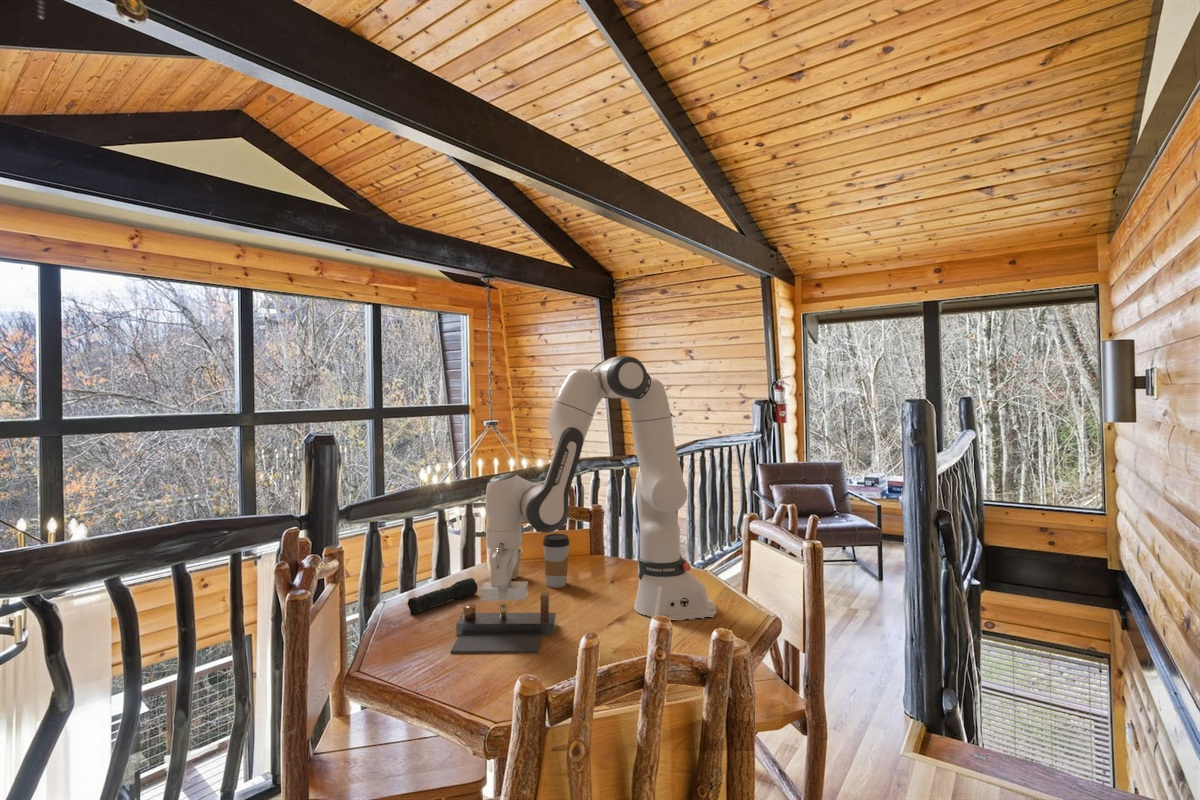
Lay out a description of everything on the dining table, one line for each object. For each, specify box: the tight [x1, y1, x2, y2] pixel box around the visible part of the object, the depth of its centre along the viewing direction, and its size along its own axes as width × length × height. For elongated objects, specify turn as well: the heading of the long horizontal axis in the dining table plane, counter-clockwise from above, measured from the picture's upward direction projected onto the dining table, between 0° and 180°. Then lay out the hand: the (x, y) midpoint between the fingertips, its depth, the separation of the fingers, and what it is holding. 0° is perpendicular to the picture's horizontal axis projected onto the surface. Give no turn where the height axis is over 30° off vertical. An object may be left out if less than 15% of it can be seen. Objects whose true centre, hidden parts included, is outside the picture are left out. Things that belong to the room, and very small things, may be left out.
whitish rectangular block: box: [480, 580, 529, 602], centre depth 145 cm, size 11×5×3 cm, turn 91°
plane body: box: [455, 592, 557, 637], centre depth 145 cm, size 24×7×9 cm, turn 90°
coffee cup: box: [542, 533, 570, 589], centre depth 179 cm, size 8×8×15 cm
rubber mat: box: [450, 636, 542, 654], centre depth 136 cm, size 20×8×1 cm, turn 90°
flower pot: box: [511, 547, 524, 580], centre depth 186 cm, size 9×9×9 cm
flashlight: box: [407, 577, 479, 615], centre depth 163 cm, size 5×21×5 cm, turn 142°
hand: (505, 593), depth 145 cm, fingers closed on whitish rectangular block, 5 cm apart
